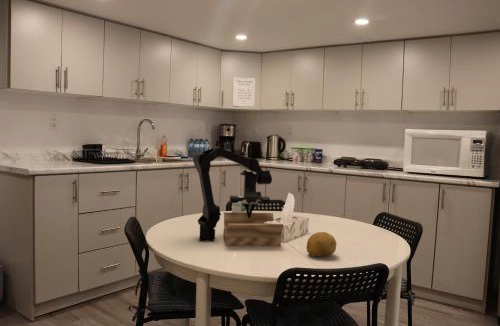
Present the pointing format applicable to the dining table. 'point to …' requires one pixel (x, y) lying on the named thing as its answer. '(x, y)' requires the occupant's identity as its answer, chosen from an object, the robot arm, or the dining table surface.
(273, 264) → the dining table surface
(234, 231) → the near flap
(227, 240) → the carton
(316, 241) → the potato
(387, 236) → the dining table surface
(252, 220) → the far flap
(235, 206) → the syrup box
